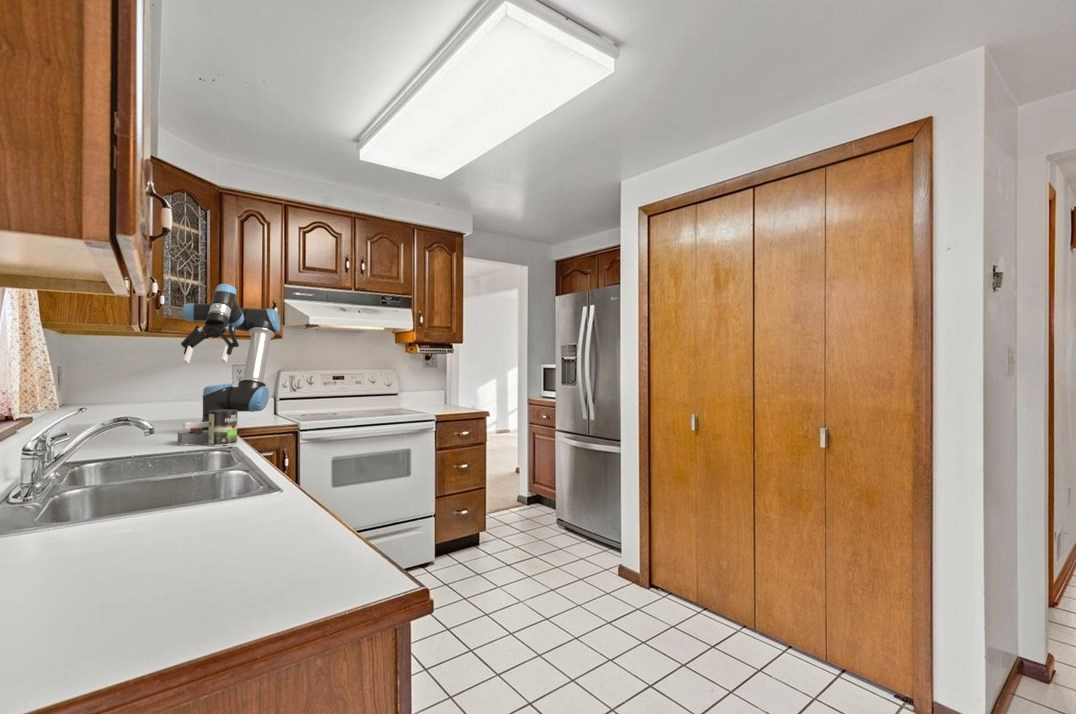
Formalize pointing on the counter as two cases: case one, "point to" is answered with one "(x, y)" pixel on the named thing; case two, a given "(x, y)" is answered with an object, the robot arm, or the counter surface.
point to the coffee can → (222, 427)
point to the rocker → (195, 425)
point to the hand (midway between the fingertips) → (205, 361)
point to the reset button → (193, 430)
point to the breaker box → (193, 437)
